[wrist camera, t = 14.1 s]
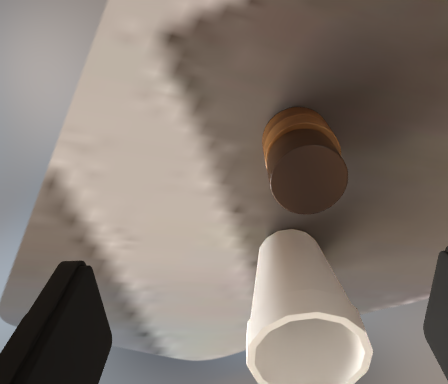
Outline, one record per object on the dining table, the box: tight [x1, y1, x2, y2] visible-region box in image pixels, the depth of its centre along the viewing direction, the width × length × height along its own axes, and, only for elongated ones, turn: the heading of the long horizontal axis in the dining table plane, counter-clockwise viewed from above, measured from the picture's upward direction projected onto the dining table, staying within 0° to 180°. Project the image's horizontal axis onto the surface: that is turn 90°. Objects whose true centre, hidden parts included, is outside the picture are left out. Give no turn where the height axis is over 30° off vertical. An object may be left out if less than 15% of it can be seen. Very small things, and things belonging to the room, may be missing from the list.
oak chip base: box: [262, 107, 330, 151], centre depth 34 cm, size 6×6×2 cm
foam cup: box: [246, 229, 373, 384], centre depth 35 cm, size 10×9×13 cm
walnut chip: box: [267, 129, 348, 214], centre depth 30 cm, size 6×6×4 cm
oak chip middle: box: [264, 115, 341, 168], centre depth 32 cm, size 6×6×2 cm
